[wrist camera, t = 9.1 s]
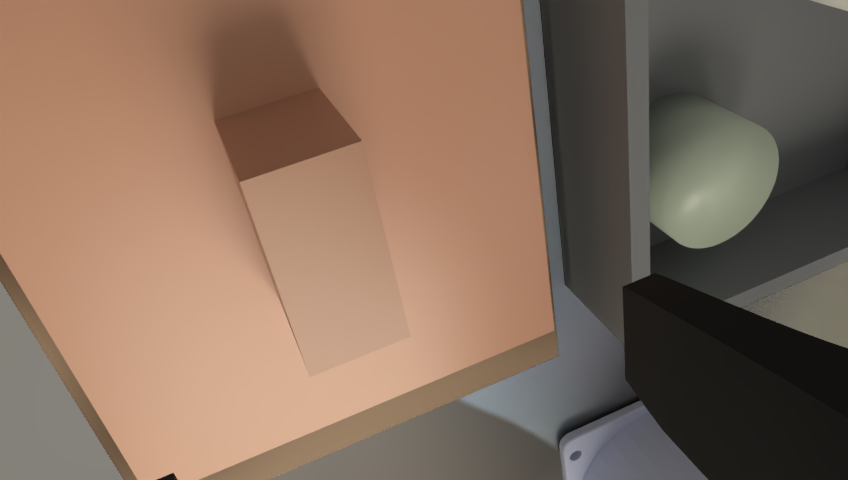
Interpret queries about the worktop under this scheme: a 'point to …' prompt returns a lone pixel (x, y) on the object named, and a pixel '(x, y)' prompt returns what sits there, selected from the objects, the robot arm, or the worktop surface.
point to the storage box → (698, 144)
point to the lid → (267, 208)
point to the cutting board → (256, 471)
